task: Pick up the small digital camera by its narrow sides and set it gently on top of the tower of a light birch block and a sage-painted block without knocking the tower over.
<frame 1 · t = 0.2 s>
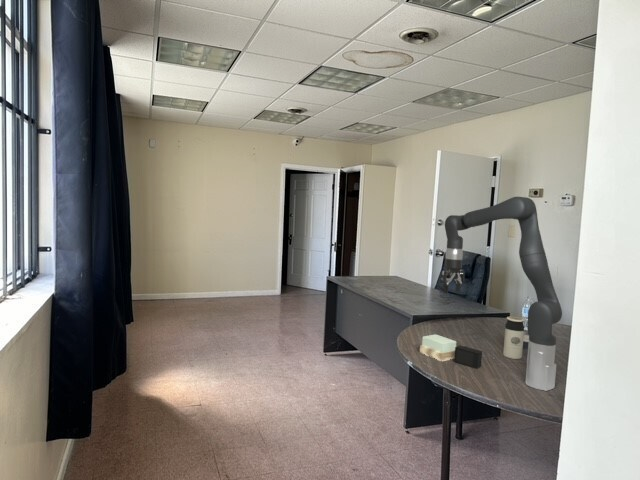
hand: (451, 292, 197), 28 cm above the table, tool pointing down, fingers open, 8 cm apart
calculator: (520, 344, 217), on the table
block top: (438, 347, 193), point 3 cm above the table, touching block bottom
digital camera: (468, 364, 183), on the table
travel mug: (512, 356, 196), on the table
block bottom: (438, 356, 193), on the table, touching block top
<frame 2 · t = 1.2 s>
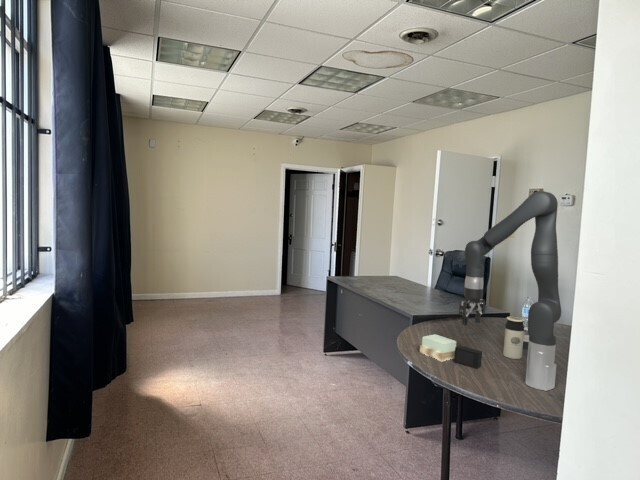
hand: (471, 323, 182), 18 cm above the table, tool pointing down, fingers open, 8 cm apart
nothing on the table moved.
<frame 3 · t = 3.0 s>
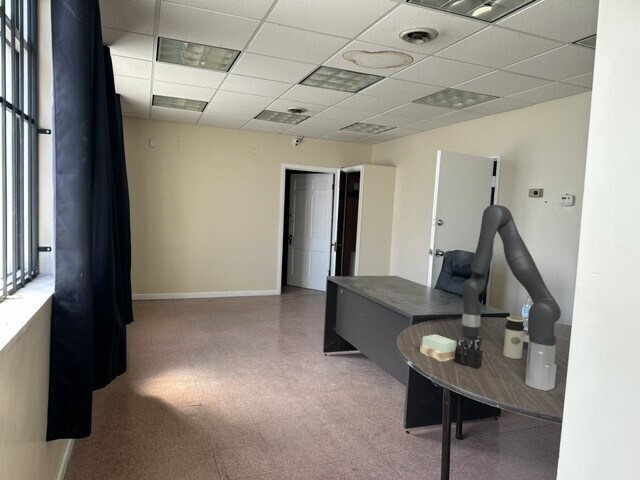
hand: (468, 361, 183), 1 cm above the table, tool pointing down, fingers closed on digital camera, 5 cm apart
block top: (438, 347, 193), point 3 cm above the table
digital camera: (468, 364, 183), on the table, touching gripper
block bottom: (438, 356, 193), on the table
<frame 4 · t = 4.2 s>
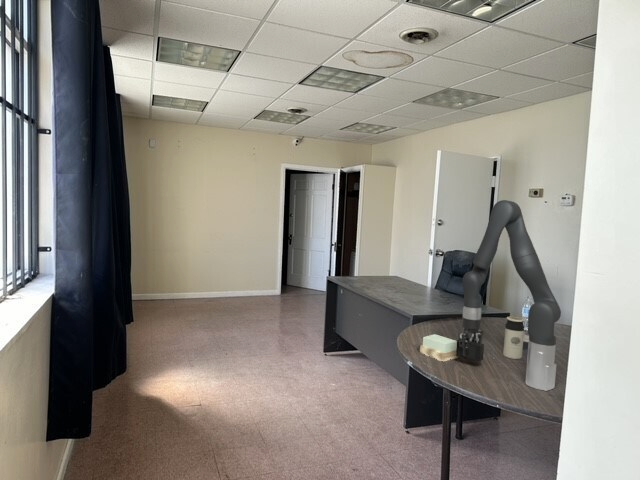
hand: (469, 355, 182), 4 cm above the table, tool pointing down, fingers closed on digital camera, 5 cm apart
block top: (439, 347, 193), point 4 cm above the table, touching block bottom
digital camera: (470, 358, 182), point 3 cm above the table, touching gripper
block bottom: (438, 356, 193), on the table, touching block top
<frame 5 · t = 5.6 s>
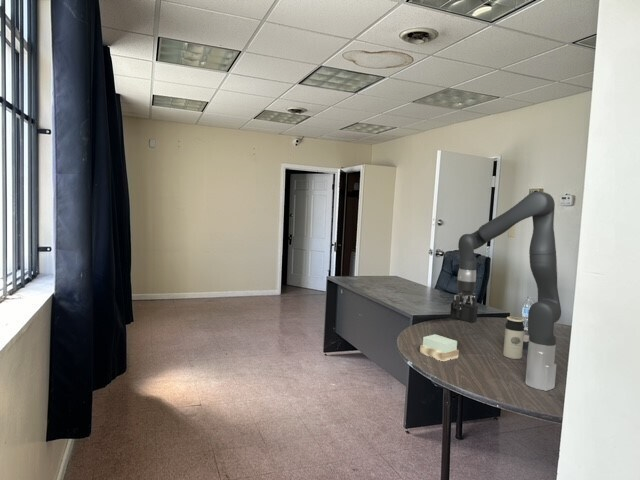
hand: (463, 317, 184), 20 cm above the table, tool pointing down, fingers closed on digital camera, 5 cm apart
block top: (439, 347, 193), point 4 cm above the table
digital camera: (463, 320, 184), point 19 cm above the table, touching gripper
block bottom: (438, 356, 193), on the table
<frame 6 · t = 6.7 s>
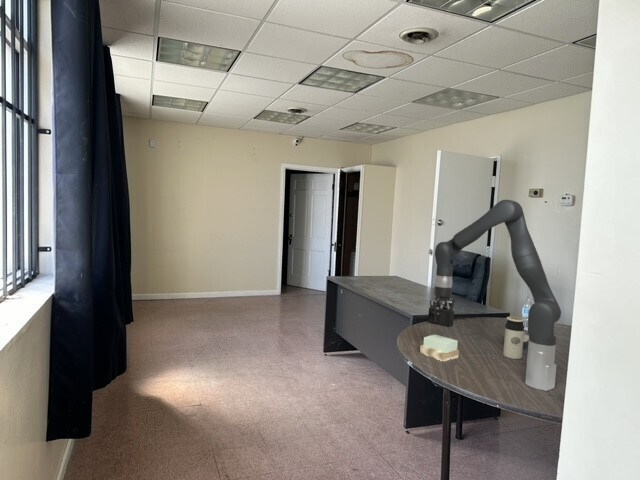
hand: (440, 321, 192), 16 cm above the table, tool pointing down, fingers closed on digital camera, 5 cm apart
digital camera: (441, 324, 192), point 14 cm above the table, touching gripper
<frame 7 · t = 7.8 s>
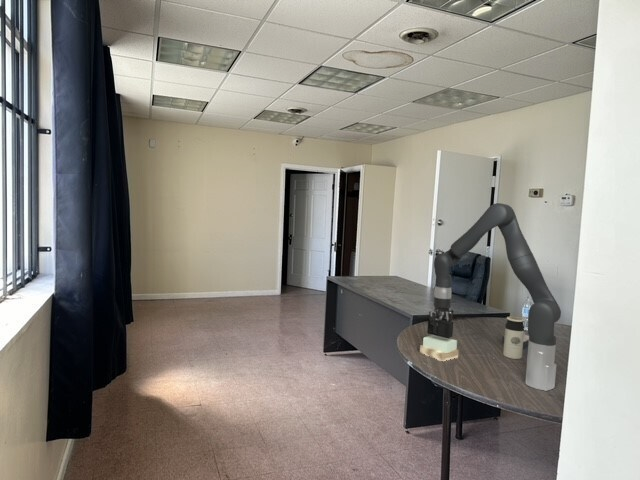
hand: (440, 332, 192), 11 cm above the table, tool pointing down, fingers closed on digital camera, 5 cm apart
block top: (439, 347, 193), point 3 cm above the table, touching block bottom
digital camera: (440, 335, 192), point 9 cm above the table, touching gripper
block bottom: (438, 356, 193), on the table, touching block top
when the fingers open (10 cm above the table, at t = 8.2 s): digital camera drops 2 cm, resting on block top.
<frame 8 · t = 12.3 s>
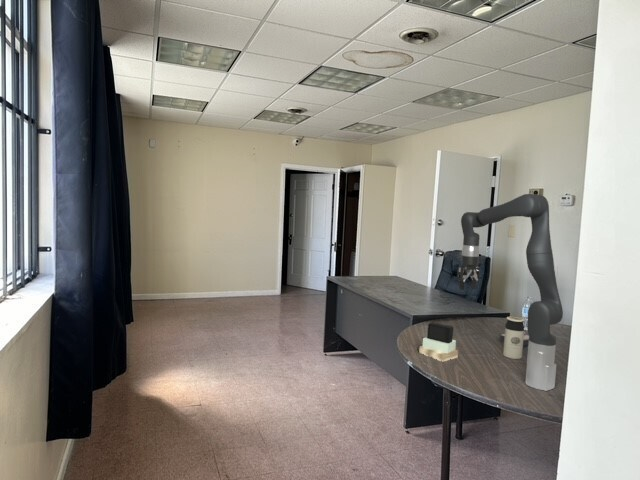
hand: (467, 289, 197), 30 cm above the table, tool pointing down, fingers open, 8 cm apart
block top: (438, 348, 193), point 3 cm above the table, touching block bottom, digital camera
digital camera: (440, 340, 192), point 7 cm above the table, touching block top
at the end: digital camera 0.5 cm off-centre on the block top, point 3.8 cm above the block top's base; block top 0.1 cm off-centre on the block bottom, point 4.0 cm above the block bottom's base; block top tilted 0° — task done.
